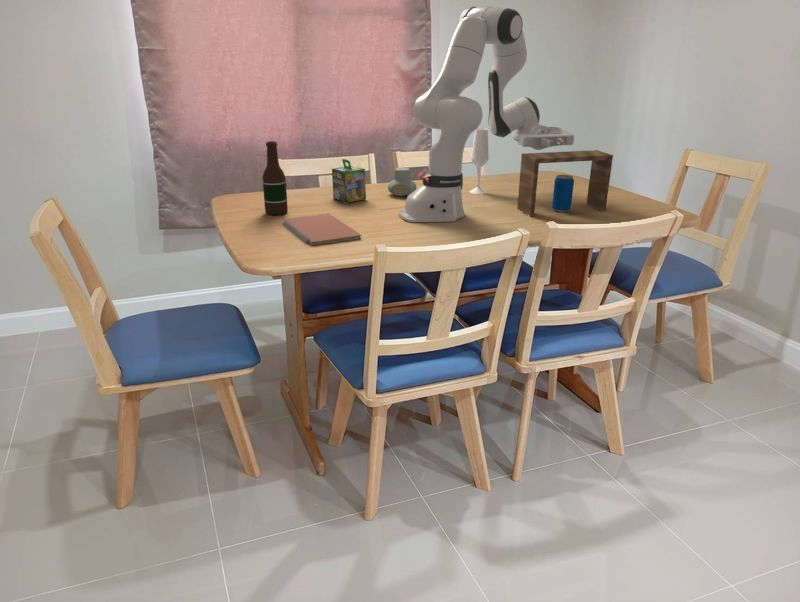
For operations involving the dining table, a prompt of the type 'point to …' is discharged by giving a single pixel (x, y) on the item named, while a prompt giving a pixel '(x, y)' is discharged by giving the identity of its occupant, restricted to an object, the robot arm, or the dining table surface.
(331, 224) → the notebook
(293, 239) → the dining table surface
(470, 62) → the robot arm
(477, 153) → the champagne flute
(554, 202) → the beverage can
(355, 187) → the chalk box
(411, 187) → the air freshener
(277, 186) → the beer bottle
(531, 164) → the walnut riser shelf
